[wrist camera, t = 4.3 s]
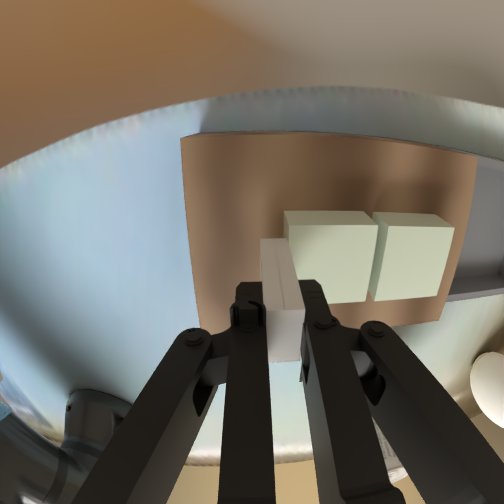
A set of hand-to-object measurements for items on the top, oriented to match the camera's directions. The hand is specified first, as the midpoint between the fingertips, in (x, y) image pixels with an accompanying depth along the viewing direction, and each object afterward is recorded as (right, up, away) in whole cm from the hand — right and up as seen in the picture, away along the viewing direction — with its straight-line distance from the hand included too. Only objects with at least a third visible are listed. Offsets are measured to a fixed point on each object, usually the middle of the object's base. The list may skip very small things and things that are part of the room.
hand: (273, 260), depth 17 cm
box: (+22, +4, +7) cm, 23 cm away
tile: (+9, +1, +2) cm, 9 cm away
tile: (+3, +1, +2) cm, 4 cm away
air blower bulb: (+34, -16, +17) cm, 41 cm away
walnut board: (+5, +3, +7) cm, 9 cm away
